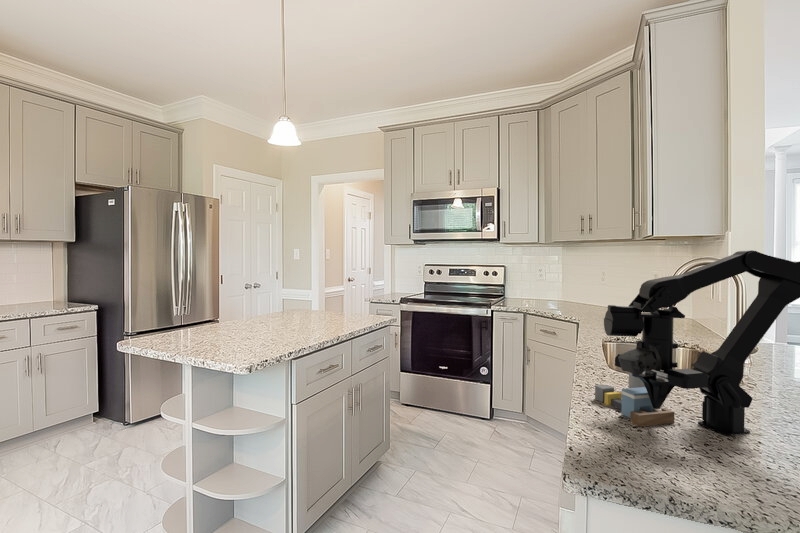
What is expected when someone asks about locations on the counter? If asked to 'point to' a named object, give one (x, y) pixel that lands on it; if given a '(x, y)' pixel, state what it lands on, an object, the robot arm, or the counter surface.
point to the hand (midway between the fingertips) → (656, 408)
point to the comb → (652, 417)
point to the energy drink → (635, 381)
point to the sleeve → (635, 400)
